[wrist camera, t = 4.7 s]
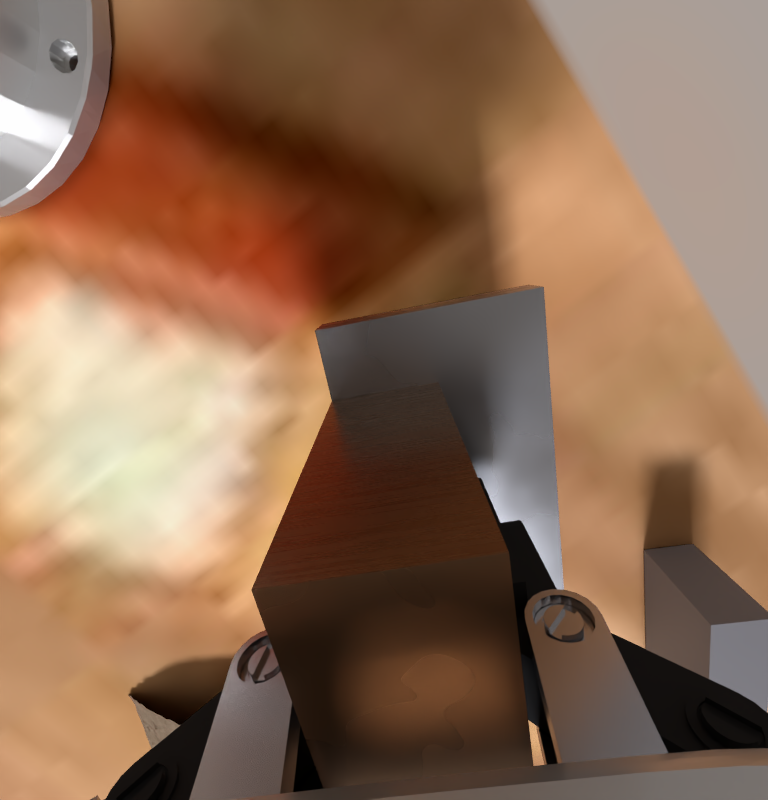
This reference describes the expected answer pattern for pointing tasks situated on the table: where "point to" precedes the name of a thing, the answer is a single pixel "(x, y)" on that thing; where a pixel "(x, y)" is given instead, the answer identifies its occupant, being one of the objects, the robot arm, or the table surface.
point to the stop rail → (705, 621)
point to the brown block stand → (416, 541)
